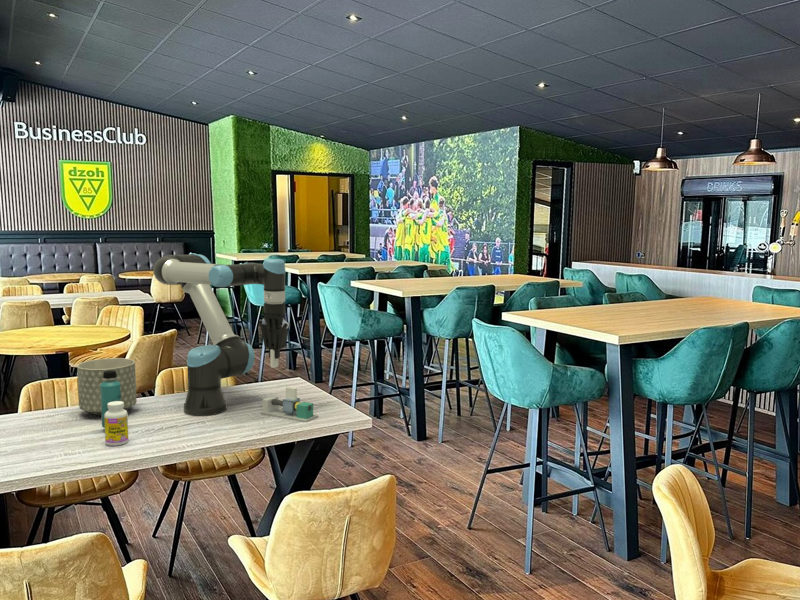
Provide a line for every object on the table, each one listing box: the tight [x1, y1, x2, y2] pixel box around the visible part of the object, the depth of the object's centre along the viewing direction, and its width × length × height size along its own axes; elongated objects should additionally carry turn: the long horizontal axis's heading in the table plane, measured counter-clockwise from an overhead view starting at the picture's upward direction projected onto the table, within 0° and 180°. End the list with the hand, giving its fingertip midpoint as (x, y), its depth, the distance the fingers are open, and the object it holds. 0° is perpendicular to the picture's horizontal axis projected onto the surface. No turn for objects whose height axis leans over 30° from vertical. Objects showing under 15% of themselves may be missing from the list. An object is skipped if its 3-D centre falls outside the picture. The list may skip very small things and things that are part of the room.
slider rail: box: [260, 395, 319, 423], centre depth 235 cm, size 20×7×5 cm, turn 62°
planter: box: [76, 357, 137, 416], centre depth 236 cm, size 19×19×18 cm
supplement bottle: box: [104, 401, 129, 447], centre depth 204 cm, size 7×7×13 cm
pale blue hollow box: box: [282, 386, 301, 414], centre depth 234 cm, size 4×5×9 cm
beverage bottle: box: [100, 370, 122, 429], centre depth 216 cm, size 6×7×20 cm
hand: (274, 366), depth 236 cm, fingers closed
